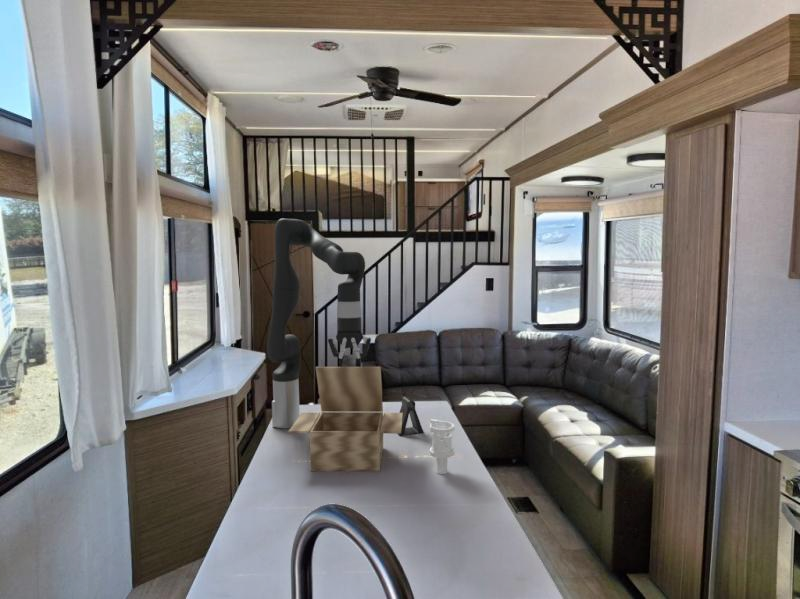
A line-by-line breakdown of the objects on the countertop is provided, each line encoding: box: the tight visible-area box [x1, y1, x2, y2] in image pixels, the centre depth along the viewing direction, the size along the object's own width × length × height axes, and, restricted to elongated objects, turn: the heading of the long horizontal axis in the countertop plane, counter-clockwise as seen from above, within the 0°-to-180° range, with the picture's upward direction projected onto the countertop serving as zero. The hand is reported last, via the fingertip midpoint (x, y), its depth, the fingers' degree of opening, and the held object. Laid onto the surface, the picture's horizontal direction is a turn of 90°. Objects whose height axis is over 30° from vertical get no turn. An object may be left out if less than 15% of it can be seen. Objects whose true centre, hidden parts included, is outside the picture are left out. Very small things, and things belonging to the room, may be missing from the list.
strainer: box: [429, 418, 455, 475], centre depth 147 cm, size 7×7×15 cm
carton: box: [288, 411, 403, 473], centre depth 156 cm, size 33×18×12 cm, turn 88°
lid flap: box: [315, 354, 384, 413], centre depth 163 cm, size 20×18×7 cm
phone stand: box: [396, 395, 424, 437], centre depth 180 cm, size 9×6×12 cm, turn 108°
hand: (350, 369), depth 161 cm, fingers closed on lid flap, 4 cm apart
